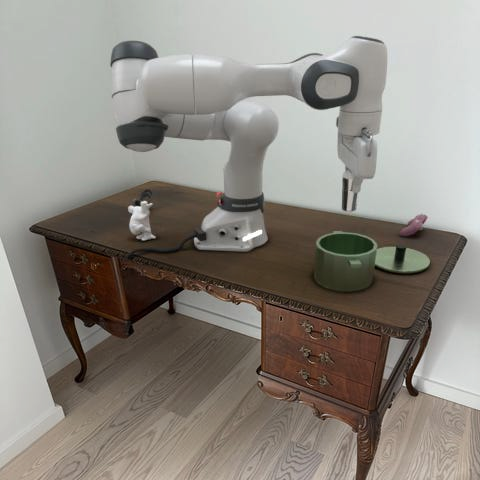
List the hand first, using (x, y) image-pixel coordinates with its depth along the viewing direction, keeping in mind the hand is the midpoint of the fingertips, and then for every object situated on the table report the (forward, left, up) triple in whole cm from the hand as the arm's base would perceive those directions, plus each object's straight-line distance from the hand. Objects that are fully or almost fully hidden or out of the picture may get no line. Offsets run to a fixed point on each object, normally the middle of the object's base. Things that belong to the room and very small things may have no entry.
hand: (352, 188), depth 108 cm
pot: (0, -1, -23) cm, 23 cm away
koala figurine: (-55, +31, -23) cm, 68 cm away
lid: (+17, +7, -22) cm, 29 cm away
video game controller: (+28, +27, -23) cm, 45 cm away
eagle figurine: (-59, +59, -23) cm, 87 cm away
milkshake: (0, 0, -5) cm, 5 cm away
